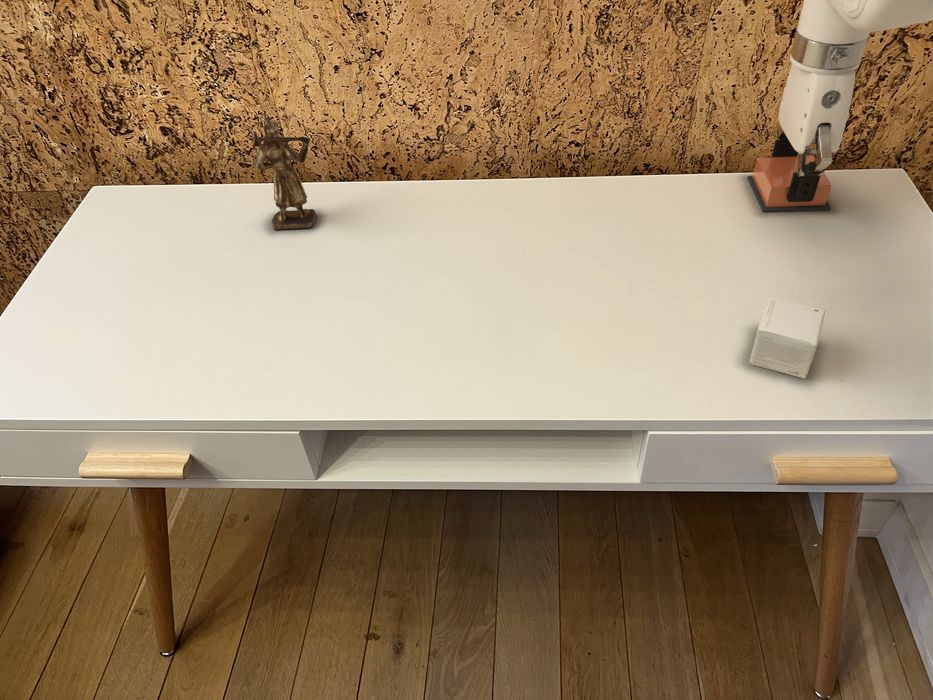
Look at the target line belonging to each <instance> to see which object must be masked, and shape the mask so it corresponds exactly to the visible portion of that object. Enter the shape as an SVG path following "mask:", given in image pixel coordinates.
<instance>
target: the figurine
mask: <svg viewBox="0 0 933 700" xmlns="http://www.w3.org/2000/svg"><path fill="white" fill-rule="evenodd" d="M264 121H265V122H264V125H263V134H264V137H259V136H258V133H257V131H255V130H252V137H248V138H247V139H248V141H252V145H251V147H253V148H257V147H258V149H257V155H256V158H255V167H256V169H257V170H259V171H265V170H270V169H272V176H273V177H272V178H273V200H274V203H275V207H276V208H278V209H279V210H278V211H277V212H276V213H275V214H274V215H273V217H272V220H271V226H272V228H273V230H274V231H279V230H280V231H281V230H291V229H308V228H311V227H313V226H314V225H315V223H316V222H317V219H318V216H317V215H318V214H317V212H316V209H313V208H309V209H308V208H303V205H305V204H307V203H308V200H307V199H308V195H307V193H306V191H305V188H304V186H303V183H302V181H301V177H300V175H299V173H298V171H297V169H296V168H295V167H294V166H293V165H292V161H294V162H297V163H300V164H304V163H305V161H306V158H307V156H308V153H309V152H308V151H309V145H310V142H311V137H307V136H292V137H291V136H280V134H279V133H280V132H279V131H280V129H279V125H277V123H275V122H274V121H272V120H271V119H270V118H269V117H267V116H266V117H264ZM262 142H263V143H262ZM290 142H301V143H302V144H301V148H300V150H299V153H298V152H296V151H295V150H294V149H293V148H292V147H291V145H289V143H290ZM267 160H268V161H269V162H266V161H267ZM288 208H295V210H287V209H288Z"/></svg>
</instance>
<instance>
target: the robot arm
mask: <svg viewBox="0 0 933 700" xmlns="http://www.w3.org/2000/svg"><path fill="white" fill-rule="evenodd" d="M800 11H801V12H800V16H799V19H798V23H797V28H796V32H795V36H794V41H793V43H792V49H791V52H790V55H789V56H790V57H789V60H790V61H789V62H791V66H790V69H789V72H788V75H787V79H786V82H785V85H784V89H783V93H782V96H781V100H780V105H779V110H778V116H777V117H778V123H779V126H778V128H777V129H776V133H775V137H776V139H775V141H774V144H773V149H772V152H771V155H770V157H796V156H798V166H797V172H793V176H792V180H791V183H790V187H789V190H788V194H787V201H788V202H810V201H812V200H813V199H814V196H815V193H816V189H817V186H818V183H819V180H820V176H822V175H823V172H824V173H825V171H826V170H827V169H828V167H829V166H830V165H831V164H832V162H833V154H835V153H837V152H838V150H839V148H840V146H841V143H842V139H843V137H844V136H843V135H844V132H845V129H846V125H847V121H848V116H849V113H850V109H851V104H852V99H853V95H854V88H855V81H856V70H857V69H858V68H859V66H860V65H861V61H862V58H863V56H864V52H865V47H866V45H867V41H868V39H869V35H870V33H877V32H883V31H888V30H895V29H900V28H906V27H908V26H911V25H912V26H913V25H918V24H922V23H923V24H924V23H929V22H933V0H803V4H802V7H801V10H800ZM810 145H815V148H807V147H810ZM806 148H807V149H806ZM811 155H816V156H815V159H814V160H815V161H814V162H809V163H808V164H807V165H806V156H811Z"/></svg>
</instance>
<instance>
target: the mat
mask: <svg viewBox="0 0 933 700" xmlns="http://www.w3.org/2000/svg"><path fill="white" fill-rule="evenodd" d="M752 176H753V175H747V181H748V183H749V185H750V187H751V189H752V191H753V193H754V196H755V198H756V200H757V202H758V204H759V206H760V209H761V211H762V213H782V212H783V213H784V212H786V213H787V212H815V211H817V212H819V211H831V209H832V208H831V206H830V204H829V202H828V200H827V201H826V204H825V205H823V206H790V207H766V206H765V204H764V201H763V199H762V197H761V195H760V193H759V191H758V189H757V186H756V184H755V182H754V180H753V178H752Z"/></svg>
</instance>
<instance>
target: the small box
mask: <svg viewBox="0 0 933 700" xmlns="http://www.w3.org/2000/svg"><path fill="white" fill-rule="evenodd" d="M825 314H826V310H825V309H823V308H818V307H814V306H809V305H805V304H801V303H796V302H791V301H787V300H783V299H779V298H775V297H774V298H773V297H768V298H767V299H766V302H765V305H764V308H763V311H762V313H761V317H760V321H759V324H758V328H757V332H756V335H755V339H754V343H753V346H752V350H751V354H750V358H749V364H750V365H752V366H754V367H759V368H763V369H767V370H771V371H774V372H778V373H783V374H785V375H790V376H793V377H797V378H800V379H803V380H804V379H806V378H807V376H808V374H809V371H810V368H811V365H812V362H813V359H814V357H815V355H816V351H817V348H818V345H819V341H820V337H821V331H822V327H823V324H824V319H825V316H826V315H825Z"/></svg>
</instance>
